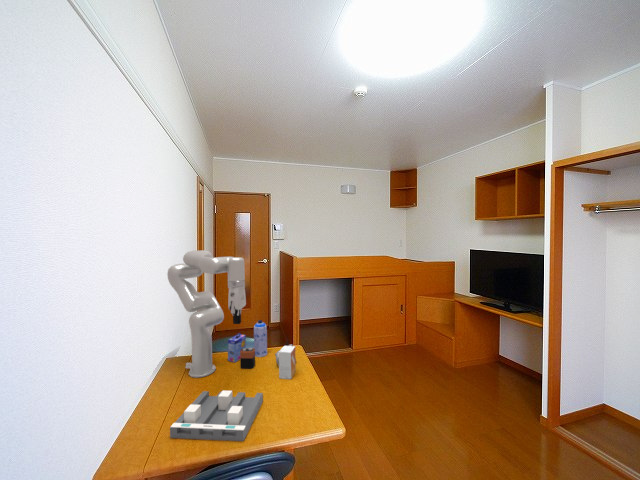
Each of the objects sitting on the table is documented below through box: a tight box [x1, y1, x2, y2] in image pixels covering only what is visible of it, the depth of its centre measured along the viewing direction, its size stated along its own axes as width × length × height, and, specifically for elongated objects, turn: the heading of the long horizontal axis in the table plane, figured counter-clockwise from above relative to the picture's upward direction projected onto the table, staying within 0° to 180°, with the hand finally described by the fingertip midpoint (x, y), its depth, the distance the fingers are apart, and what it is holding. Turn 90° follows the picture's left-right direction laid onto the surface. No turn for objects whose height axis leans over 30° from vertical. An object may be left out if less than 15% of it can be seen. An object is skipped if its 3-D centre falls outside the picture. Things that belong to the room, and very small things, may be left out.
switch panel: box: [169, 390, 264, 442], centre depth 101 cm, size 26×22×4 cm
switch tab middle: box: [218, 389, 233, 410], centre depth 105 cm, size 4×4×5 cm
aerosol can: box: [253, 319, 268, 358], centre depth 157 cm, size 8×8×20 cm
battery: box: [239, 347, 256, 370], centre depth 142 cm, size 4×7×10 cm, turn 87°
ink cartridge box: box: [227, 332, 247, 363], centre depth 152 cm, size 10×6×14 cm, turn 160°
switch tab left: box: [183, 403, 201, 424], centre depth 97 cm, size 4×4×5 cm
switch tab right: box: [227, 406, 243, 425], centre depth 95 cm, size 4×4×5 cm
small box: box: [278, 345, 297, 380], centre depth 133 cm, size 8×6×13 cm
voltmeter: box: [274, 334, 297, 366], centre depth 149 cm, size 27×11×10 cm, turn 16°
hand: (237, 323), depth 123 cm, fingers closed
